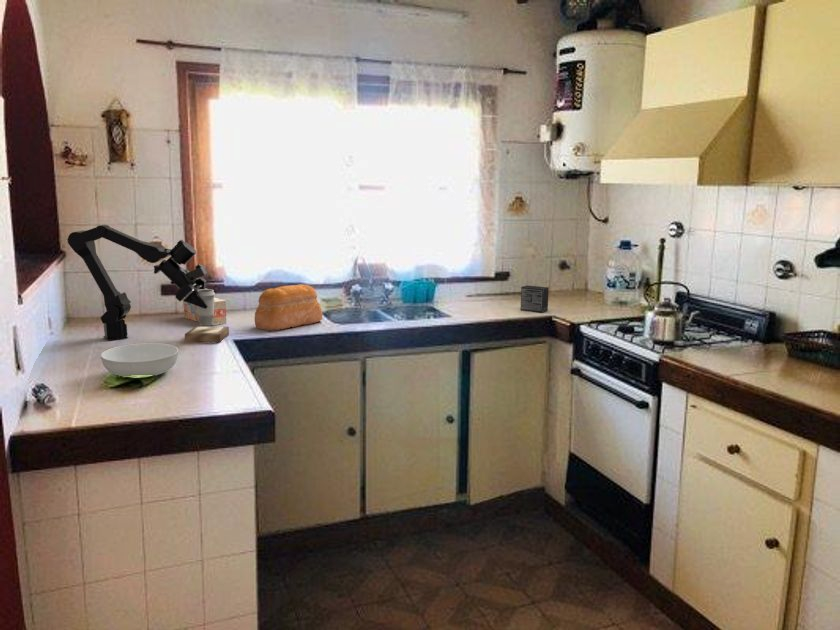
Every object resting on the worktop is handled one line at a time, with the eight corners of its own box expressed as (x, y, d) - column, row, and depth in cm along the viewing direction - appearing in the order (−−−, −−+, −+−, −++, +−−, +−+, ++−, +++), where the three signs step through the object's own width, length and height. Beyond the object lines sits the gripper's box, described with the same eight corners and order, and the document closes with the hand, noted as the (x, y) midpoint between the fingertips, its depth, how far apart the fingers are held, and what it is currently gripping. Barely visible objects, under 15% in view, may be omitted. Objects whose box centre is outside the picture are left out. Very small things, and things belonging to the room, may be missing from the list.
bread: (326, 322, 275) (325, 284, 272) (272, 333, 255) (271, 292, 252) (304, 317, 283) (303, 280, 280) (250, 327, 264) (248, 287, 261)
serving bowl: (97, 387, 189) (95, 363, 188) (107, 367, 209) (106, 345, 208) (178, 382, 195) (176, 358, 194) (181, 362, 215) (179, 341, 213)
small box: (548, 310, 302) (549, 286, 300) (542, 313, 297) (543, 288, 295) (525, 308, 308) (526, 284, 306) (519, 310, 302) (520, 286, 300)
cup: (192, 324, 244) (190, 290, 242) (209, 321, 249) (207, 288, 247) (203, 327, 240) (201, 292, 237) (220, 324, 245) (219, 290, 242)
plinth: (185, 342, 239) (184, 333, 239) (195, 334, 251) (195, 325, 251) (220, 342, 240) (219, 333, 239) (229, 334, 251) (228, 326, 251)
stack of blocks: (227, 323, 270) (225, 292, 268) (212, 326, 265) (211, 294, 263) (197, 315, 284) (196, 286, 282) (183, 318, 280) (181, 287, 277)
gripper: (183, 261, 230) (218, 294, 233) (199, 254, 249) (231, 285, 251) (160, 284, 232) (195, 317, 234) (178, 276, 250) (210, 306, 253)
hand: (209, 305), depth 243 cm, fingers closed on cup, 6 cm apart
